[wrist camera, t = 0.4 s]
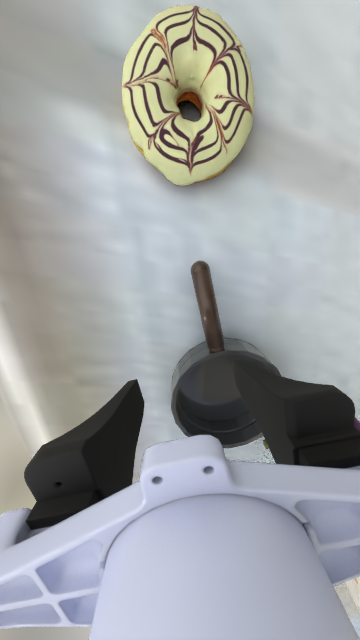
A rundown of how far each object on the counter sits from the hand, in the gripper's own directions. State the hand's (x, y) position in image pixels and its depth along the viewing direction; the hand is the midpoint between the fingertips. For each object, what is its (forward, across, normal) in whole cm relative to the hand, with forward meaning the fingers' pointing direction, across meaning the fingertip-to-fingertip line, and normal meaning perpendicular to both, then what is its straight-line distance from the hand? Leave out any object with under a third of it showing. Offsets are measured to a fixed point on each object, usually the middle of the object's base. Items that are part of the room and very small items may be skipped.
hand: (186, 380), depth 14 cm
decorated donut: (+10, -5, -20) cm, 23 cm away
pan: (+10, -4, +8) cm, 13 cm away
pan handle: (+8, -3, -3) cm, 9 cm away
